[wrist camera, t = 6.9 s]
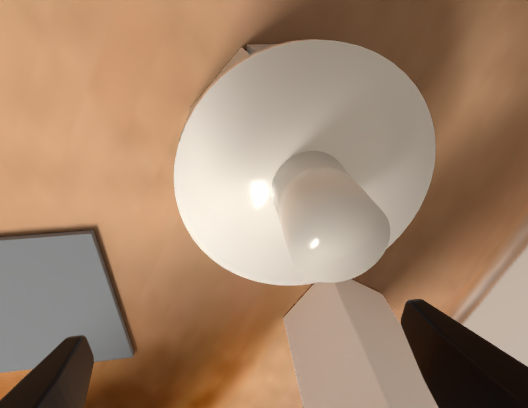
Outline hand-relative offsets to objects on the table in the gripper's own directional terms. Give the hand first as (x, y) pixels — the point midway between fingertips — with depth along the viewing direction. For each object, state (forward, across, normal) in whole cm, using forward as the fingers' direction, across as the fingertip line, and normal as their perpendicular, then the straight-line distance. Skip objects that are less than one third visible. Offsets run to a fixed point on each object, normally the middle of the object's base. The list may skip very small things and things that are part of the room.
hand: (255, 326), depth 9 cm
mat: (+12, +14, +10) cm, 21 cm away
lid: (+6, -3, -2) cm, 7 cm away
